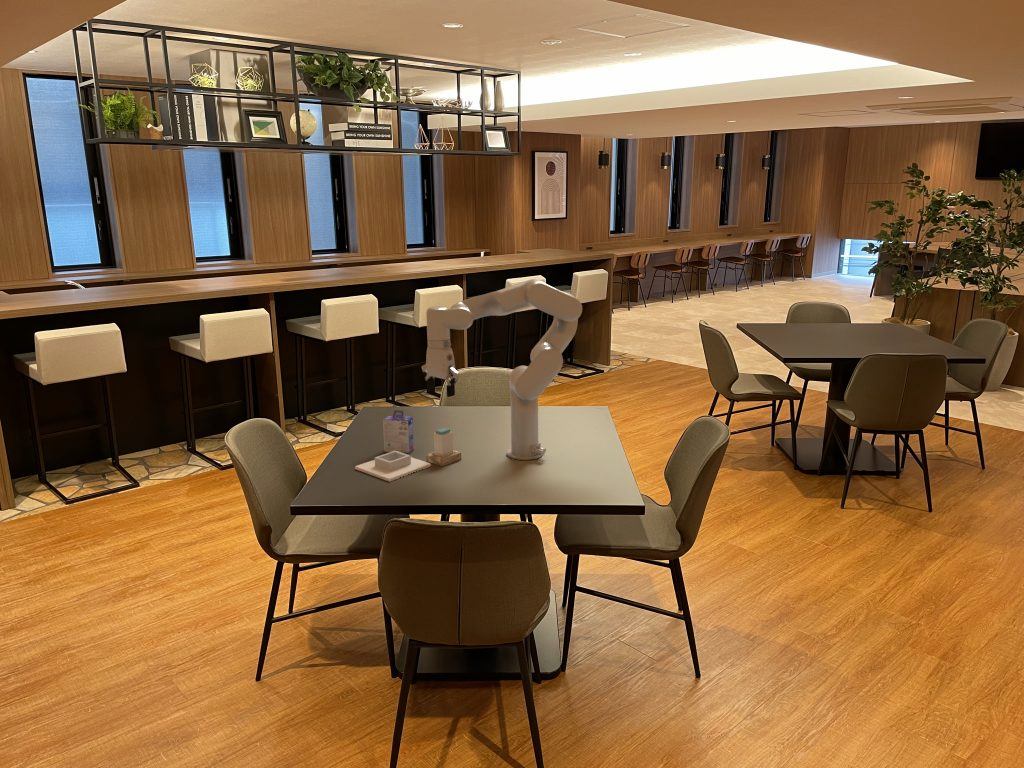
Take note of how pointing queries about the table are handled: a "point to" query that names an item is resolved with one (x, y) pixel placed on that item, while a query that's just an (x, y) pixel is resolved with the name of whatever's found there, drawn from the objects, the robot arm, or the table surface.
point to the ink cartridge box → (398, 433)
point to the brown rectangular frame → (443, 461)
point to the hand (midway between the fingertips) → (440, 393)
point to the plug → (443, 443)
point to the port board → (392, 466)
